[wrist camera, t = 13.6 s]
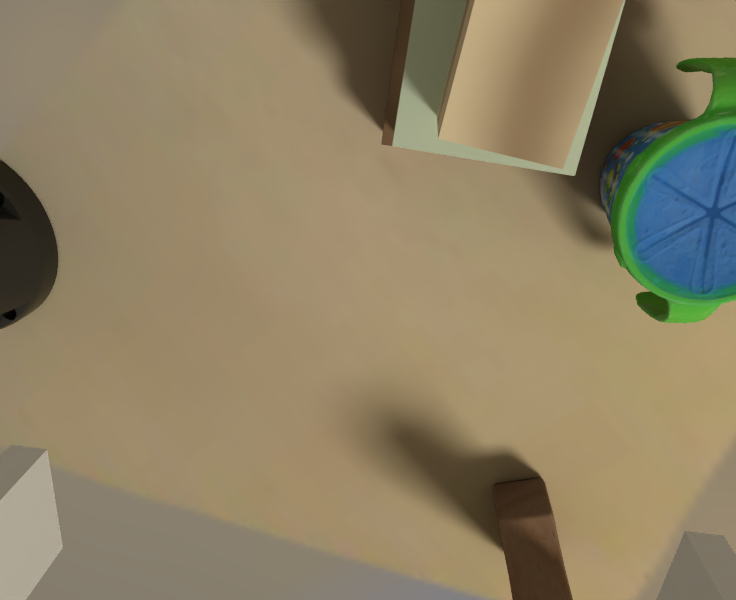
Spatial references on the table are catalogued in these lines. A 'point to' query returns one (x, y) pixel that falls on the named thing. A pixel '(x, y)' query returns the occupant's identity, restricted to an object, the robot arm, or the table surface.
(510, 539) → the wooden block
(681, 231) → the snack cup
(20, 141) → the table surface
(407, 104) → the sage slab
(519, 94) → the oak block
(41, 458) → the robot arm
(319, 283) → the table surface
